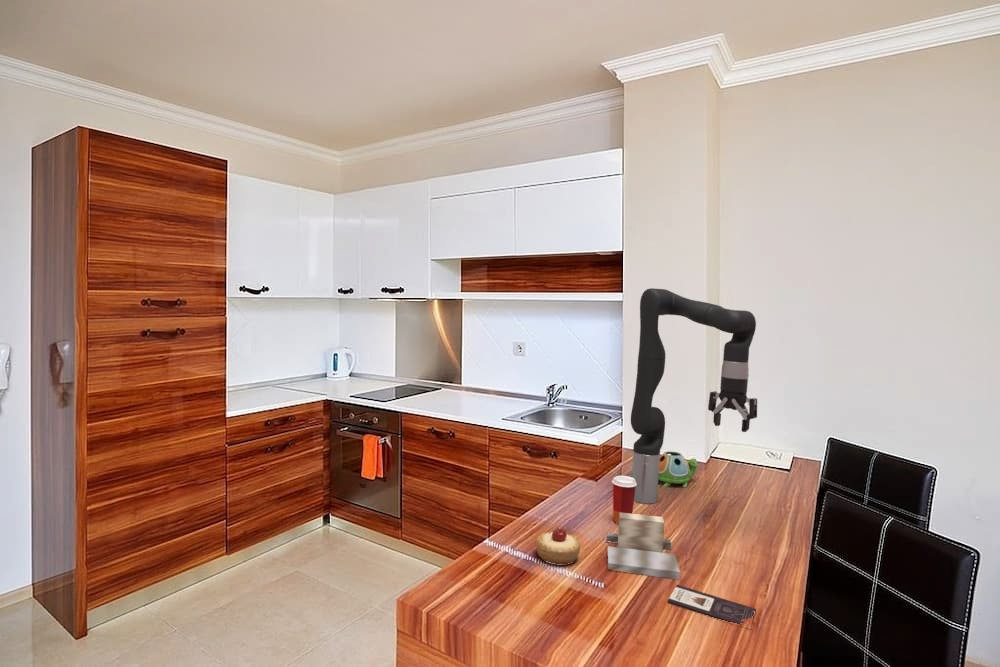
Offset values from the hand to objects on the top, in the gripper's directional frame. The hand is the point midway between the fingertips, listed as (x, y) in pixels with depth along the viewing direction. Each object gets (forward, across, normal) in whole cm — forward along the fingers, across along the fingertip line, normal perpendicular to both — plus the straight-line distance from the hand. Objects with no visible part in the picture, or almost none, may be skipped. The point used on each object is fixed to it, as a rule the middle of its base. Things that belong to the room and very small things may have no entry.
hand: (730, 428), depth 167 cm
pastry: (+33, -19, -54) cm, 66 cm away
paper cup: (+33, -24, -19) cm, 45 cm away
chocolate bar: (+34, +19, -42) cm, 57 cm away
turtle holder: (+33, -36, +30) cm, 58 cm away
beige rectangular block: (+33, -8, -32) cm, 47 cm away
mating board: (+33, -5, -35) cm, 49 cm away
